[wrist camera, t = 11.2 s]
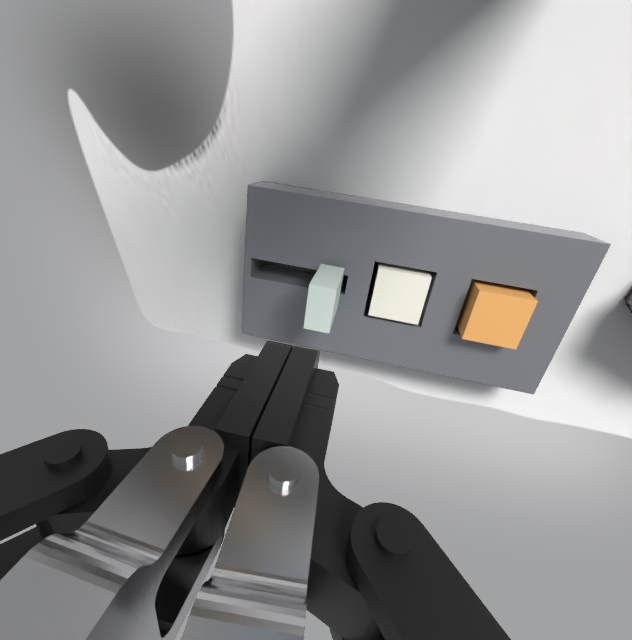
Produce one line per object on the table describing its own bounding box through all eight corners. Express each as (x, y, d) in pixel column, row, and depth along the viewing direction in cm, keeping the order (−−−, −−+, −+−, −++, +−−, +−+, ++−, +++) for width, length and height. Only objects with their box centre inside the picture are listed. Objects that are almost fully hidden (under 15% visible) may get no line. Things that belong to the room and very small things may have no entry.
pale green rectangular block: (328, 250, 34) (309, 284, 25) (349, 254, 34) (336, 289, 25) (323, 285, 35) (303, 328, 27) (343, 289, 35) (329, 333, 27)
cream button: (379, 255, 33) (378, 268, 30) (427, 264, 33) (431, 277, 29) (370, 298, 35) (368, 315, 32) (414, 307, 35) (417, 324, 31)
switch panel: (263, 181, 33) (248, 184, 29) (583, 233, 30) (610, 244, 26) (255, 316, 39) (241, 333, 35) (519, 370, 36) (533, 394, 32)
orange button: (469, 274, 31) (479, 290, 28) (520, 283, 31) (538, 301, 27) (454, 318, 33) (461, 338, 30) (502, 328, 33) (516, 349, 29)
